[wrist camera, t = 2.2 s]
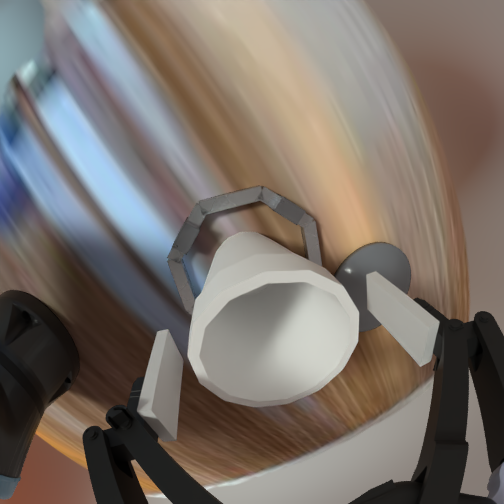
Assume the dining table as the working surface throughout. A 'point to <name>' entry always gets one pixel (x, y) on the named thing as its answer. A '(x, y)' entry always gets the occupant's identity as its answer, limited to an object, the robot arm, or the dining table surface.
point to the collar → (226, 202)
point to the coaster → (367, 261)
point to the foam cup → (269, 324)
